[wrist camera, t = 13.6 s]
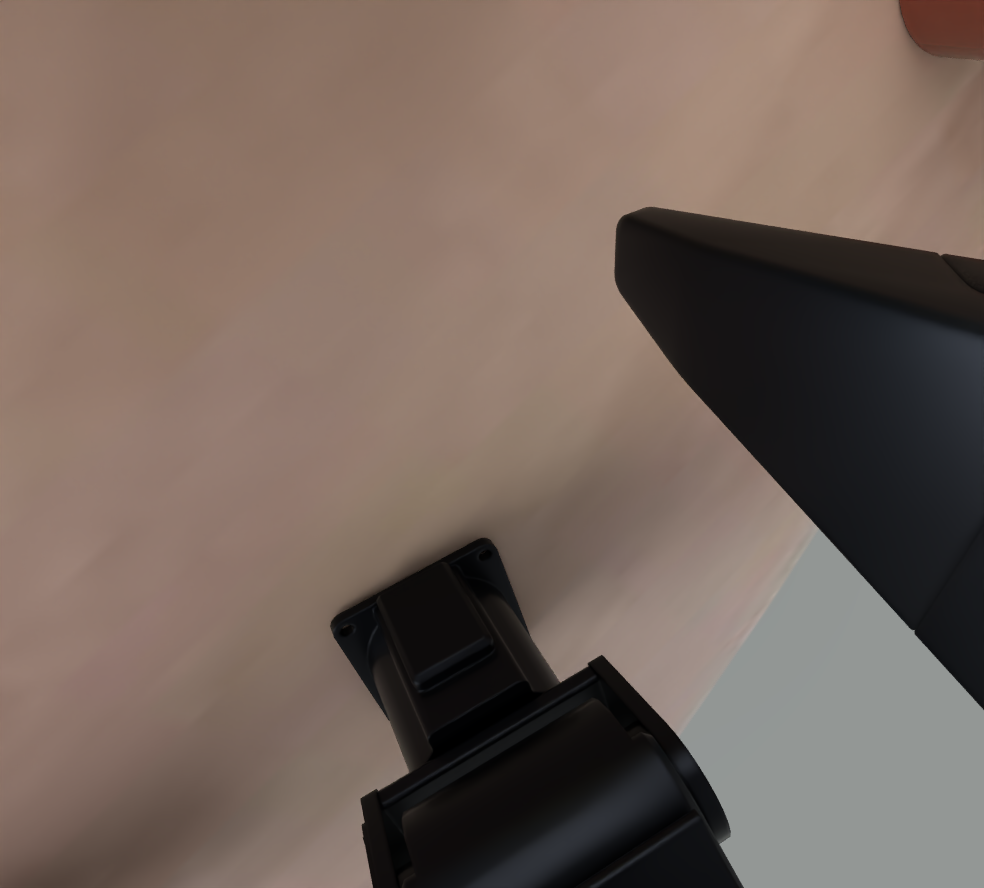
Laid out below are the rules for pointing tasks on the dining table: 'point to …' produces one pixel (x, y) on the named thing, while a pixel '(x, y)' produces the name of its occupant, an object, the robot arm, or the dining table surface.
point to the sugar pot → (946, 27)
